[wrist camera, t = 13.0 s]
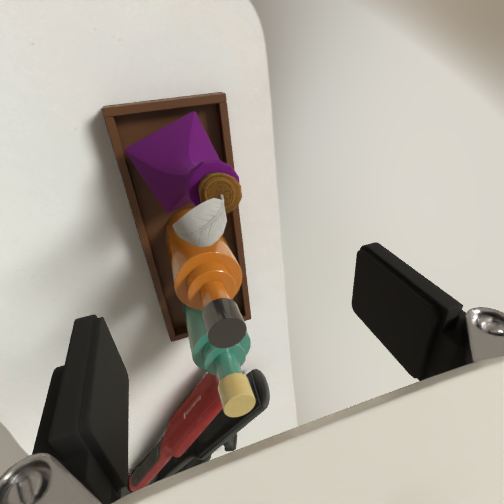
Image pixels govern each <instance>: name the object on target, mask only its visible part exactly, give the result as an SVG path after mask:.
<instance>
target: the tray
mask: <svg viewBox="0 0 504 504" xmlns="http://www.w3.org/2000/svg"><path fill="white" fill-rule="evenodd" d="M193 111H194V112H196V114H197V116H198V118H199V120H200V122H201V124H202V126H203V128H204V130H205V132H206V133H207V135H208V137H209V139H210V141H211V143H212V145H213V147H214V149H215V151H216V153H217V155H218V157H219V159H220V161H222V162H224V163H227V164H229V165H231V167H232V168H233V170H234V162H233V154H232V145H231V136H230V127H229V118H228V110H227V102H226V94H225V93H222V92H217V93H209V94H200V95H192V96H184V97H176V98H167V99H159V100H151V101H142V102H134V103H126V104H118V105H109V106H103V108H102V112H103V115H104V117H105V118H104V119H105V122H106V126H107V129H108V132H109V136H110V139H111V142H112V146H113V149H114V152H115V156H116V159H117V162H118V166H119V169H120V173H121V176H122V179H123V183H124V186H125V189H126V193H127V196H128V199H129V203H130V206H131V209H132V213H133V216H134V219H135V223H136V226H137V230H138V233H139V236H140V240H141V243H142V246H143V250H144V253H145V256H146V260H147V263H148V266H149V270H150V273H151V276H152V280H153V283H154V287H155V290H156V293H157V297H158V300H159V303H160V307H161V310H162V313H163V317H164V320H165V323H166V327H167V330H168V333H169V337H170V340H171V342H172V341H175V340H179V339H182V338H186V337H188V333H187V328H186V323H185V318H184V313H183V309H182V304H181V301H180V299H179V298H178V296H177V295H176V292H175V288H174V282H173V277H172V272H171V266H170V261H169V255H168V250H167V245H166V239H165V228H166V225H167V223H168V221H169V220H170V219H171V217H172V216H174V215H175V214H176V213H178V212H180V211H182V210H185V209H190V208H195V206H194V205H193V203H192V202H189V203H187V204H185V205H184V206H182V207H180V208H178V209H176V210H175V211H173V212H171V213H167V212H166V211H165V210H164V208H163V207H162V205H161V204H160V202H159V201H158V199H157V198H156V196H155V195H154V194H153V192H152V191H151V189H150V188H149V186H148V185H147V183H146V182H145V180H144V179H143V177H142V176H141V174H140V173H139V172H138V170H137V169H136V167H135V166H134V164H133V163H132V161H131V160H130V158H129V157H128V155H127V154H126V152H125V149H126V148H127V147H129V146H131V145H132V144H134V143H136V142H138V141H140V140H141V139H143V138H145V137H147V136H149V135H151V134H152V133H154V132H156V131H158V130H160V129H161V128H163V127H165V126H167V125H169V124H170V123H172V122H174V121H176V120H178V119H179V118H181V117H183V116H185V115H187V114H189V113H190V112H193ZM226 218H227V223H226V226H225V229H224V233H223V236H224V238H225V240H226V241H227V243H228V245H229V247H230V249H231V251H232V253H233V255H234V256H235V258H236V260H237V262H238V264H239V266H240V268H241V271H242V283H241V286H240V289H239V290H238V292H237V294H236V295H235V296H234V298H233V301H234V302H235V303H236V304H237V306H238V308H239V311H240V313H241V315H242V318H243V320H244V321H246V320H249V319H251V312H250V303H249V294H248V286H247V277H246V268H245V259H244V250H243V242H242V233H241V224H240V215H239V206H238V207H237V208H235V209H234V210H233V211H231V212H230V213H226Z"/></svg>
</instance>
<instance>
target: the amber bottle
mask: <svg viewBox="0 0 504 504" xmlns="http://www.w3.org/2000/svg"><path fill="white" fill-rule="evenodd" d="M192 209H193V208H190V209H185V210H182V211H180V212H178V213H176V214H175V215H174V216H172V217H171V219H170V220H169V221H168V223H167V225H166V228H165V239H166V245H167V250H168V255H169V261H170V266H171V272H172V277H173V282H174V288H175V292H176V295H177V296H178V298H179V299H180V301H182V302H183V303H184V304H185V305H187V306H189V307H191V308H194V309H199V310H202V311H203V313H202V319H203V322H204V326H205V330H206V333H207V337H208V340H209V342H210V344H211V345H213V346H214V347H217V348H229V347H232V346H234V345H236V344H238V343H239V342H240V341H241V340H242V339H243V338H244V336H245V334H246V330H247V329H246V324H245V322H244V320H243V318H242V315H241V313H240V311H239V308H238V306H237V304H236V303H235V302H234V301H233V300H232V299H233V298H234V296H235V295H236V294H237V292H238V290H239V289H240V286H241V283H242V271H241V268H240V266H239V264H238V262H237V260H236V258H235V256H234V255H233V253H232V251H231V249H230V247H229V245H228V243H227V241H226V240H225V238H224V236H223V234H222V236H221V237H220V238H219V240H218V241H216V242H215V243H214V244H212V245H211V246H207V247H198V246H194V245H192V244H190V243H188V242H186V241H184V240H182V239H181V238H180V237H179V236H178V235H177V234H176V233H175V230H174V228H173V226H172V225H173V224H174V223H176V222H177V221H178V220H179V219H180V218H181V217H182V216H184V215H185V214H186V213H187V212H189V211H190V210H192Z"/></svg>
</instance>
